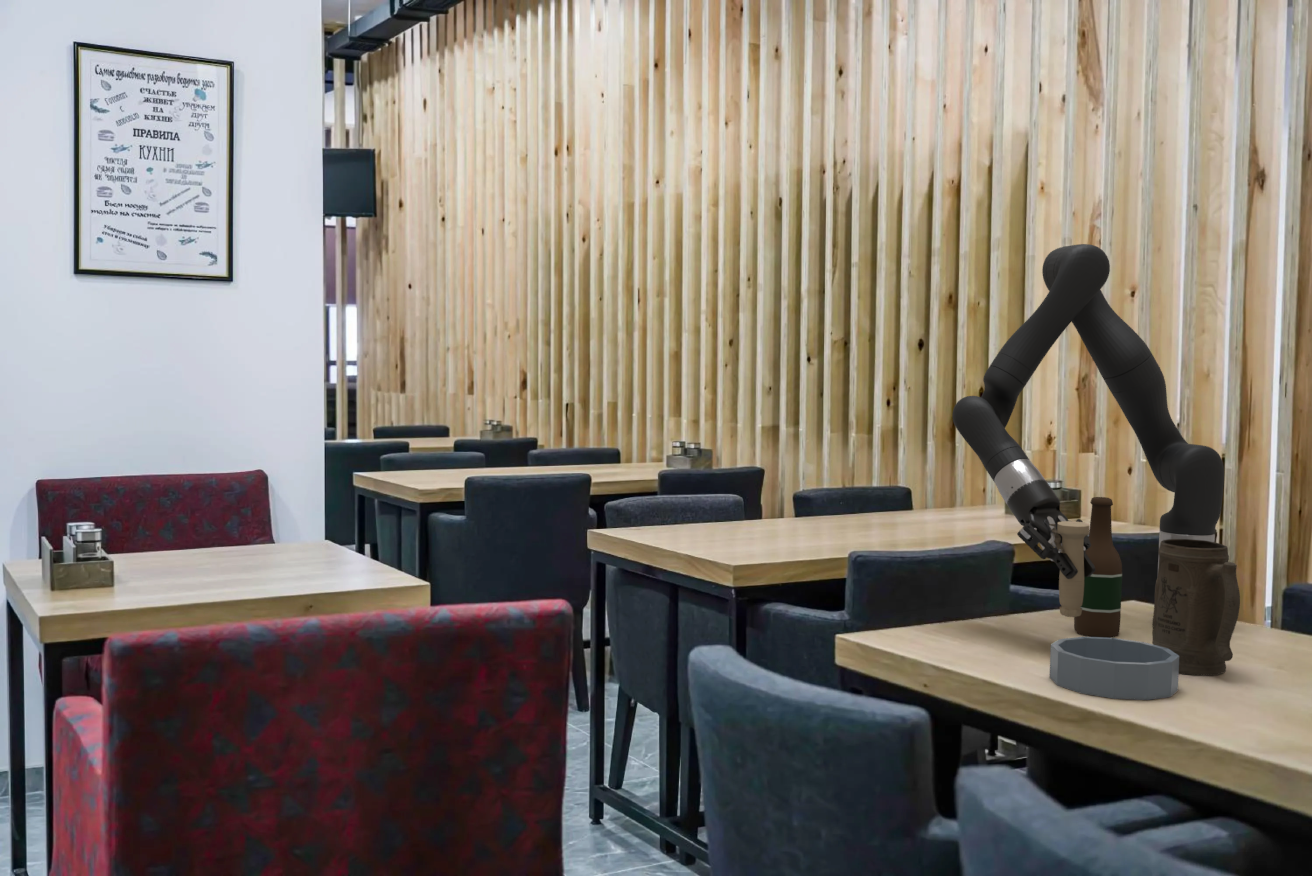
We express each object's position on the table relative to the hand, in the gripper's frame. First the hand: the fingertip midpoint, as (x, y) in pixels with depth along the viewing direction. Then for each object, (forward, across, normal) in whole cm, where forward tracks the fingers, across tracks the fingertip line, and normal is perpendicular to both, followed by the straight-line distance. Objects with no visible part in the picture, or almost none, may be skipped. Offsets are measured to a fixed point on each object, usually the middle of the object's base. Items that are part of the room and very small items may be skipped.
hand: (1081, 574), depth 191 cm
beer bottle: (+2, +16, +17) cm, 24 cm away
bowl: (+19, -10, -1) cm, 22 cm away
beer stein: (+20, +9, -1) cm, 22 cm away
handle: (+4, 0, +6) cm, 7 cm away
